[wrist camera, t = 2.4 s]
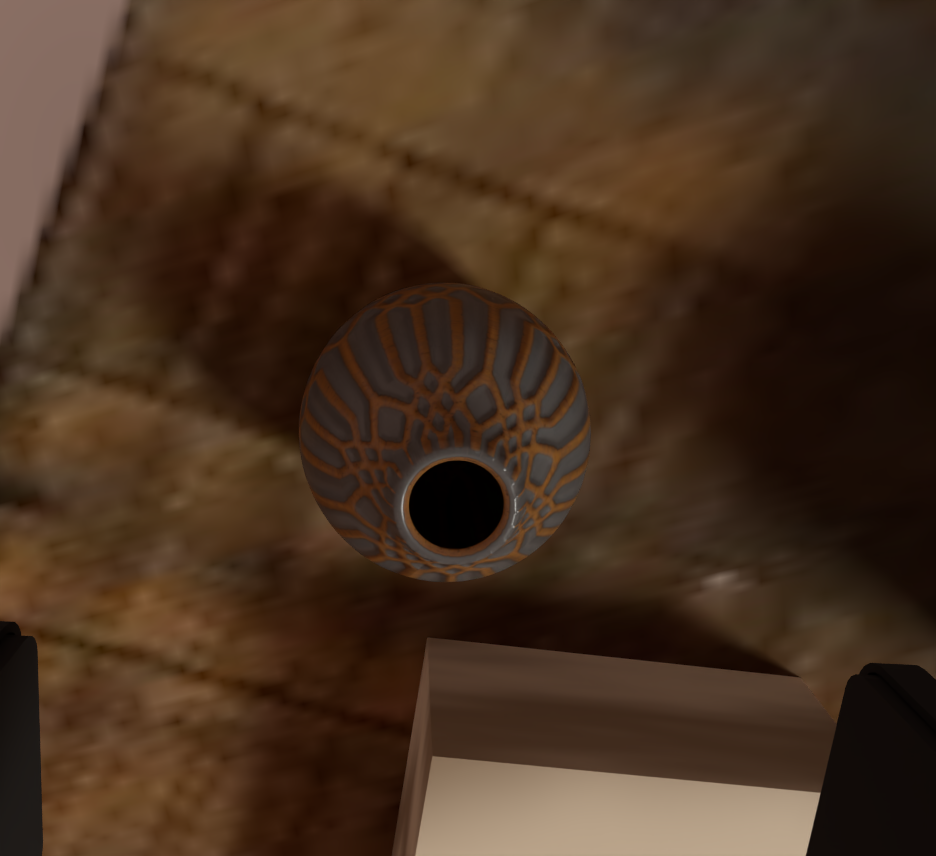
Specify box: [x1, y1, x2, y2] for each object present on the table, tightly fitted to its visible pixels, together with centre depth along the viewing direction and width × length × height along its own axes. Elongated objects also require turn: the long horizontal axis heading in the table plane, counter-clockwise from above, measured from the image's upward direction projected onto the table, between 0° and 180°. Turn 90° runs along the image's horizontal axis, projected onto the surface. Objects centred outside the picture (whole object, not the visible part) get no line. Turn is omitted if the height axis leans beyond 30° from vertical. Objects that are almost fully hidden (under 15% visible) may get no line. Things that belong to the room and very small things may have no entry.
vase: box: [299, 283, 591, 582], centre depth 21 cm, size 7×7×9 cm
